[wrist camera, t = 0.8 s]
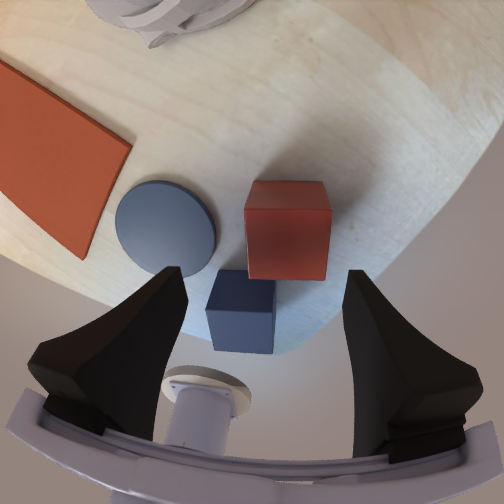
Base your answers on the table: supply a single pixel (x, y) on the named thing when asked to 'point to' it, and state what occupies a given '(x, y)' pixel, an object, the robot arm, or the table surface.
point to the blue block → (242, 313)
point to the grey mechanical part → (166, 16)
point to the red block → (287, 230)
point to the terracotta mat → (55, 160)
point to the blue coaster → (165, 228)
